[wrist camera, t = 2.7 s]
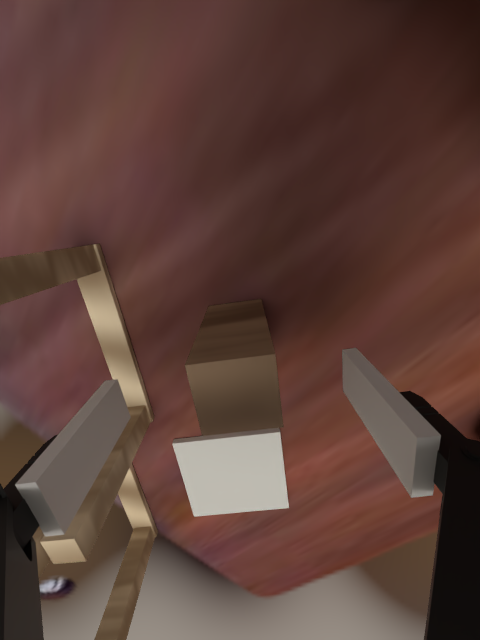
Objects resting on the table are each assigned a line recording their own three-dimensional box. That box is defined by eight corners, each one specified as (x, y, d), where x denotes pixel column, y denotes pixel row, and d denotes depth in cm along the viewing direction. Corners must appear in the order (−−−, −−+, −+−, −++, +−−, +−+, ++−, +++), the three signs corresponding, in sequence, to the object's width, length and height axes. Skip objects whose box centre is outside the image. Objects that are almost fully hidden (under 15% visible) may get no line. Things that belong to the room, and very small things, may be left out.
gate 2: (93, 424, 27) (-15, 569, 16) (116, 421, 27) (23, 566, 15) (139, 533, 33) (84, 696, 21) (157, 531, 33) (113, 695, 21)
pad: (173, 439, 27) (172, 443, 27) (279, 427, 27) (280, 432, 26) (195, 511, 31) (194, 516, 31) (288, 502, 31) (288, 507, 30)
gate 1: (70, 248, 21) (-131, 277, 10) (99, 243, 21) (-71, 268, 9) (131, 420, 27) (50, 564, 15) (154, 417, 27) (89, 561, 15)
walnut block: (208, 305, 22) (184, 365, 13) (261, 298, 22) (275, 354, 13) (217, 352, 24) (202, 436, 15) (266, 346, 24) (283, 427, 14)
